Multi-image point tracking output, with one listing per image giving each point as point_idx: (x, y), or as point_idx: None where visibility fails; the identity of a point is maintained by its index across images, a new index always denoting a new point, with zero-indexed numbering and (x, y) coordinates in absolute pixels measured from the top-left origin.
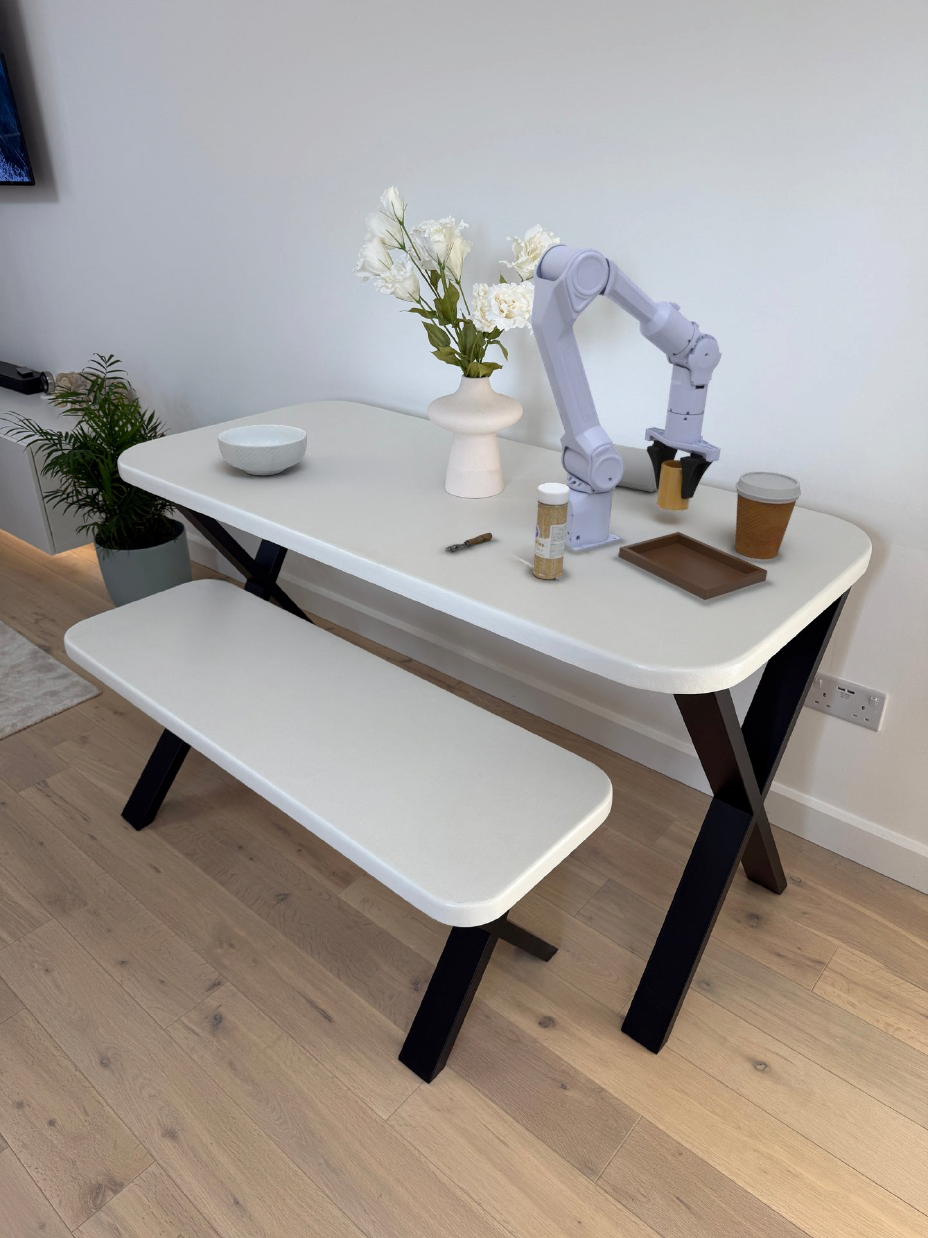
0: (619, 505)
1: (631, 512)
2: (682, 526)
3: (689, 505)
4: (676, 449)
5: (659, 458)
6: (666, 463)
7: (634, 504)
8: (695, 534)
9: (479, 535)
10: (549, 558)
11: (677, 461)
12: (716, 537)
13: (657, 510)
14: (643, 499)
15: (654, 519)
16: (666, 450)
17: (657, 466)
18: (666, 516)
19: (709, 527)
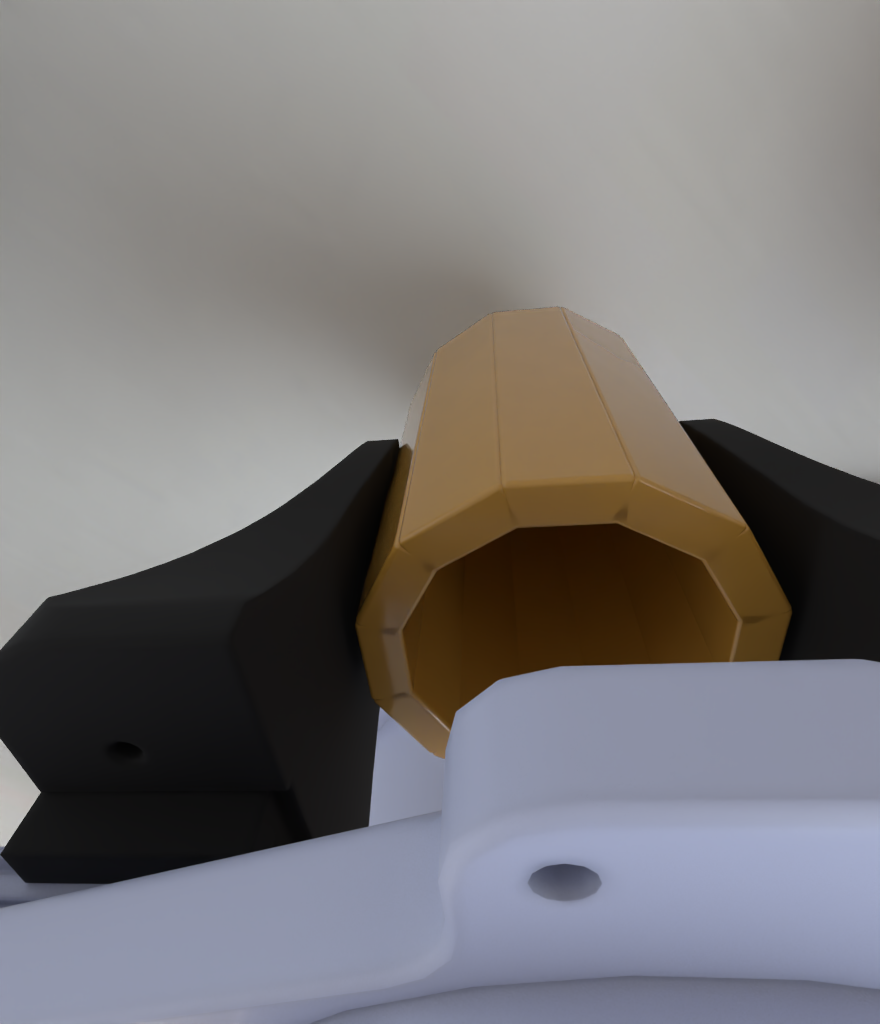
0: (120, 419)
1: (246, 430)
2: (568, 308)
3: (625, 343)
4: (281, 626)
5: (366, 779)
6: (432, 699)
7: (116, 326)
8: (712, 328)
9: None
10: None
11: (433, 572)
12: (843, 234)
13: (257, 258)
14: (22, 196)
15: (393, 386)
16: (326, 794)
17: (377, 707)
18: (377, 280)
19: (693, 131)
